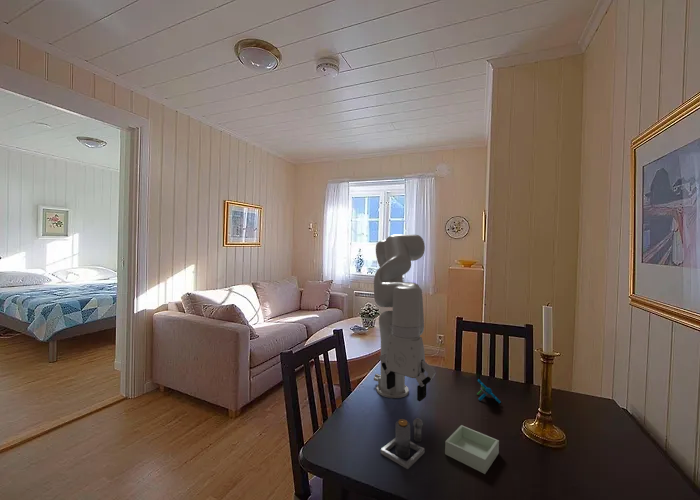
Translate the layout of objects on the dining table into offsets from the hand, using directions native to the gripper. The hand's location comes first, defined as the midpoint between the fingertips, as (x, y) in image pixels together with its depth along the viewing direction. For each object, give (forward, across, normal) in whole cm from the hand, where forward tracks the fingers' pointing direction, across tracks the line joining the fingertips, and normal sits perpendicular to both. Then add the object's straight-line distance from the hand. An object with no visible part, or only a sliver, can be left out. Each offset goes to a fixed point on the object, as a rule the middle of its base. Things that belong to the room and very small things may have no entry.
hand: (405, 393), depth 84 cm
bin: (+17, +14, +13) cm, 25 cm away
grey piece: (+17, -1, +2) cm, 17 cm away
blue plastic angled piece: (+17, +7, +47) cm, 50 cm away
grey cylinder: (+17, -1, 0) cm, 17 cm away
